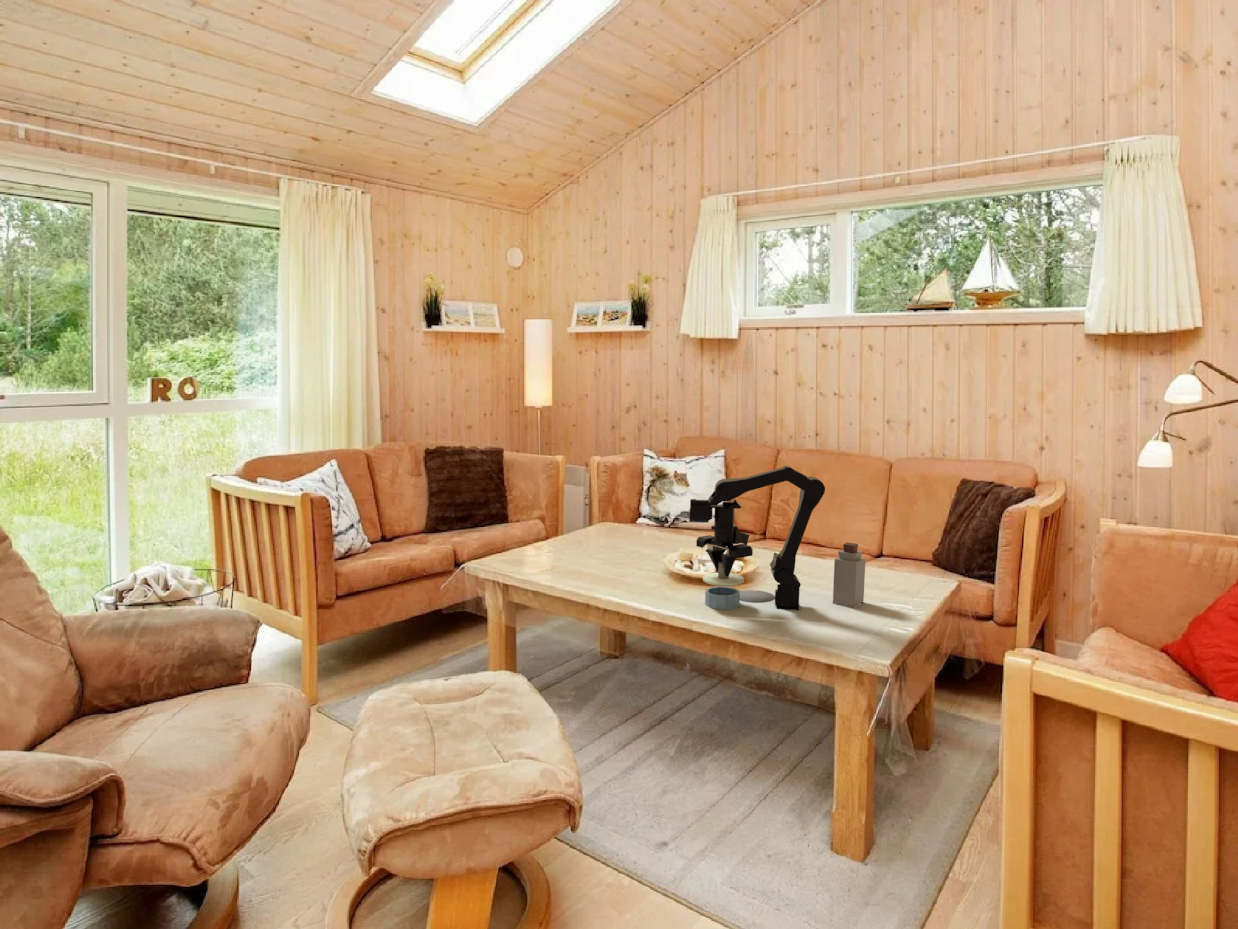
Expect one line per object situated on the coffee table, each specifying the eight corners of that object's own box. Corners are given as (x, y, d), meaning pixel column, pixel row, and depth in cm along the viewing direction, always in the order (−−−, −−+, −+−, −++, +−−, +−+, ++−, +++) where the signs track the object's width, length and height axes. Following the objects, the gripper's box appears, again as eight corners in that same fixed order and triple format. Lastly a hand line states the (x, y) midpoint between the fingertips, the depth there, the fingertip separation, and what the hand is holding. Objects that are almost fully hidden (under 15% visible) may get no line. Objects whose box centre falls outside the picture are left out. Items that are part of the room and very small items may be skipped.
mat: (774, 592, 241) (775, 591, 241) (775, 604, 229) (775, 603, 229) (733, 590, 244) (733, 589, 244) (731, 602, 231) (731, 601, 231)
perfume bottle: (842, 598, 236) (844, 540, 233) (863, 602, 231) (866, 543, 229) (832, 603, 231) (835, 544, 228) (854, 607, 226) (857, 547, 224)
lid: (744, 576, 232) (744, 558, 231) (743, 587, 220) (743, 569, 219) (704, 574, 234) (704, 557, 233) (701, 584, 222) (701, 567, 222)
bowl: (739, 601, 232) (740, 587, 232) (739, 611, 222) (739, 597, 222) (706, 599, 234) (706, 585, 233) (704, 609, 224) (704, 595, 223)
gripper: (767, 525, 222) (765, 577, 224) (723, 514, 237) (722, 564, 239) (738, 529, 216) (737, 583, 218) (695, 518, 231) (694, 569, 233)
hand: (723, 574), depth 227 cm, fingers closed on lid, 3 cm apart
